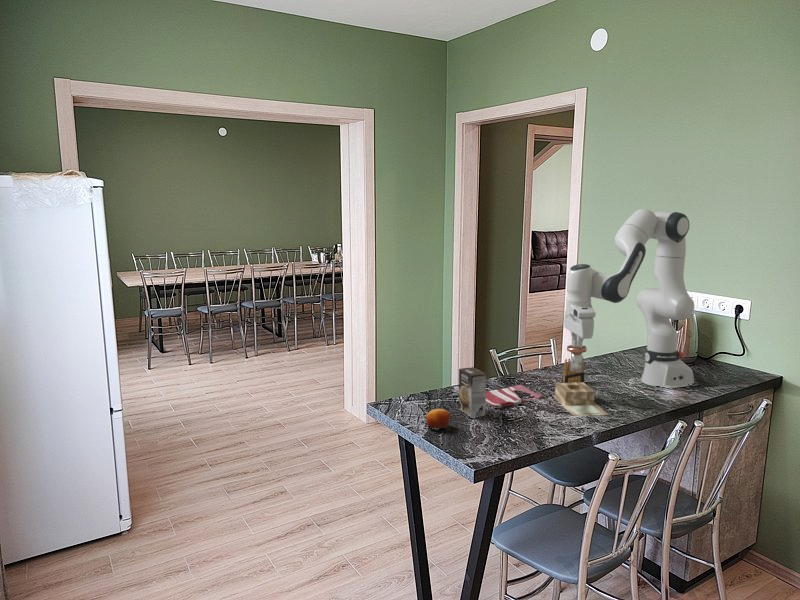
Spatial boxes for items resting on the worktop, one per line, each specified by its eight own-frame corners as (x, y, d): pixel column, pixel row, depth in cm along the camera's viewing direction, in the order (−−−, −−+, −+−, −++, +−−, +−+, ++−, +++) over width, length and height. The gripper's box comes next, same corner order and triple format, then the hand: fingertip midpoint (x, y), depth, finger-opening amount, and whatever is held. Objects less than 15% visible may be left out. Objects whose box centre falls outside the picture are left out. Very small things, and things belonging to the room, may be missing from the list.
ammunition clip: (580, 382, 250) (582, 355, 248) (584, 384, 248) (585, 356, 246) (561, 386, 245) (562, 358, 243) (564, 388, 244) (565, 359, 241)
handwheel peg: (563, 368, 228) (564, 337, 225) (581, 367, 228) (582, 336, 226) (570, 374, 221) (571, 342, 219) (588, 373, 221) (589, 341, 219)
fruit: (435, 432, 195) (429, 408, 198) (426, 436, 202) (421, 413, 205) (457, 428, 199) (451, 404, 201) (447, 432, 205) (441, 409, 208)
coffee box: (457, 411, 218) (458, 368, 215) (472, 408, 221) (473, 366, 218) (470, 419, 210) (471, 375, 207) (486, 416, 213) (487, 373, 210)
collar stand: (584, 396, 233) (585, 381, 232) (608, 417, 211) (609, 400, 210) (552, 397, 232) (552, 382, 231) (572, 418, 210) (573, 402, 209)
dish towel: (545, 401, 229) (545, 394, 229) (494, 411, 219) (494, 404, 219) (518, 389, 244) (518, 382, 244) (469, 397, 234) (470, 391, 234)
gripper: (560, 303, 230) (559, 338, 233) (580, 314, 210) (578, 352, 213) (576, 303, 231) (574, 338, 233) (597, 313, 211) (595, 351, 213)
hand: (576, 344), depth 223 cm, fingers closed on handwheel peg, 3 cm apart
